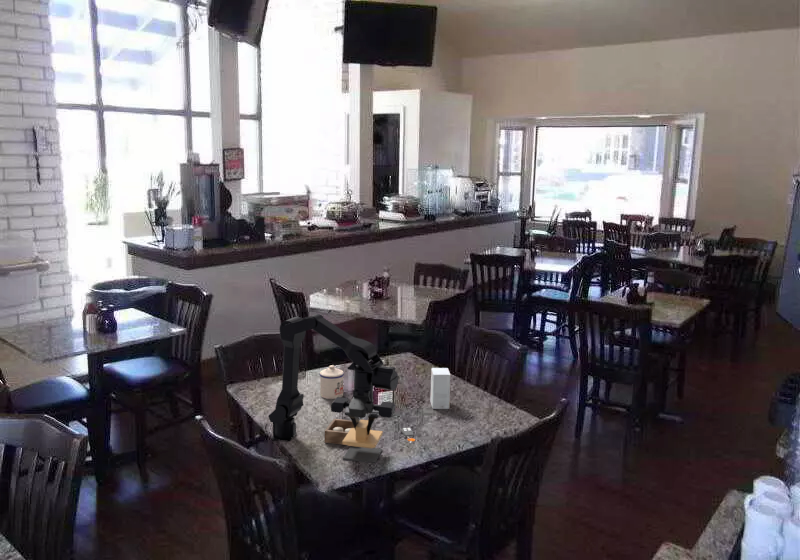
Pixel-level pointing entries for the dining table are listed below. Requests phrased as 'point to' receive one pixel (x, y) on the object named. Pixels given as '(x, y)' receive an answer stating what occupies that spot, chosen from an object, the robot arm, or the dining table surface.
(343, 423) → the walnut box
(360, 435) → the lid
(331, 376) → the teacup with lid
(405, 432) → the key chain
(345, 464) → the dining table surface
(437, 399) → the small box
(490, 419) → the dining table surface
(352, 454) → the rubber mat
